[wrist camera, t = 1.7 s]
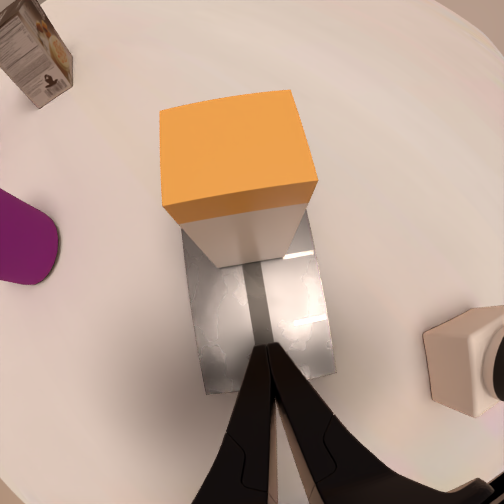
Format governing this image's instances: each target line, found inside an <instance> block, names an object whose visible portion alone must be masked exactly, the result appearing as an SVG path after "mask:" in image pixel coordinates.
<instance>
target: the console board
mask: <svg viewBox="0 0 504 504" xmlns="http://www.w3.org/2000/svg"><path fill="white" fill-rule="evenodd" d="M181 230H182V239H183V249H184V257H185V266H186V274H187V281H188V289H189V296H190V303H191V310H192V317H193V323H194V329H195V336H196V342H197V348H198V353H199V359H200V365H201V370H202V375H203V381H204V386H205V391H206V395H209V394H219V393H228V392H236V391H239V390H240V387H241V384H242V381H243V378H244V374H245V371H246V368H247V365H248V362H249V359H250V355H251V352H252V349H253V347H254V346H255V345H260V344H265V345H267V344H268V343H272V342H279V343H280V345H281V346H282V347H283V349H284V350H285V351H286V353H287V354H288V355H289V356H290V358H291V359H292V360H293V362H294V363H295V364H296V366H297V367H298V368H299V370H300V371H301V372H302V373H303V375H304V376H305V377H306V379H307V380H308V379H312V378H317V377H321V376H326V375H330V374H334V373H336V366H335V359H334V352H333V346H332V339H331V333H330V327H329V321H328V315H327V309H326V303H325V298H324V292H323V287H322V282H321V276H320V271H319V266H318V261H317V256H316V251H315V247H314V242H313V237H312V233H311V228H310V223H309V219H308V215H307V210H305V212H304V214H303V217H302V219H301V221H300V223H299V226H298V228H297V230H296V232H295V235H294V237H293V239H292V241H291V244H290V246H289V248H288V250H287V252H286V255H285V257H281V258H275V259H269V260H263V261H257V262H251V263H245V264H239V265H233V266H226V267H220V268H217V267H216V266H215V265H214V264H213V262H212V261H211V260H210V259H209V258H208V257H207V256H206V255H205V254H204V253H203V251H202V250H201V249H200V248H199V247H198V246H197V245H196V244H195V242H194V241H193V240H192V239H191V238H190V237H189V236H188V235H187V234H186V232H185V231H184V230H183V229H182V228H181Z"/></svg>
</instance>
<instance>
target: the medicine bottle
mask: <svg viewBox="0 0 504 504" xmlns="http://www.w3.org/2000/svg"><path fill="white" fill-rule="evenodd" d="M423 339H424V344H425V350H426V356H427V362H428V369H429V376H430V383H431V392H432V399H433V401H435V402H438V403H440V404H442V405H445V406H447V407H449V408H452V409H454V410H456V411H459V412H461V413H463V414H466V415H468V416H471V417H473V418H477V417H479V416H480V415H482V414H483V413H484V412H486V411H487V410H488V409H490V408H491V407H492V406H494V405H495V404H496V403H498V402H499V401H504V305H501V306H491V307H481V308H473V309H471V310H469V311H467V312H465V313H463V314H461V315H459V316H457V317H455V318H453V319H451V320H449V321H447V322H445V323H443V324H441V325H439V326H437V327H435V328H433V329H431V330H429V331H426V332H425V333H424V334H423Z"/></svg>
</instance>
